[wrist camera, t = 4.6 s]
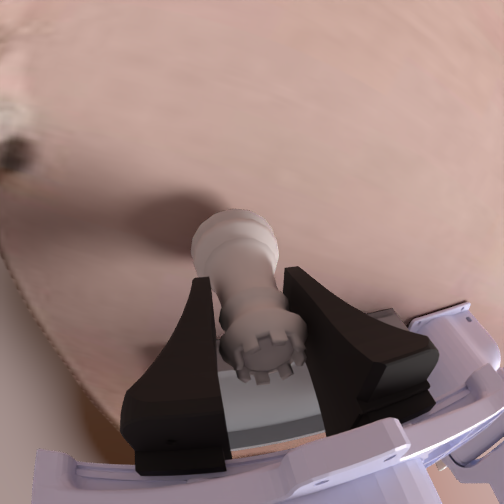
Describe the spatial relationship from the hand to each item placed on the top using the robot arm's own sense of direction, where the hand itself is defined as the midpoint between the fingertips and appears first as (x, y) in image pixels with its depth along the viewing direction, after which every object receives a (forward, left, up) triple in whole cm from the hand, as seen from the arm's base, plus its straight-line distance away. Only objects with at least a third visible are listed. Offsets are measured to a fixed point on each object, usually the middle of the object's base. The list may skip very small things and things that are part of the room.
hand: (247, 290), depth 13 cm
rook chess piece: (0, 0, -4) cm, 4 cm away
